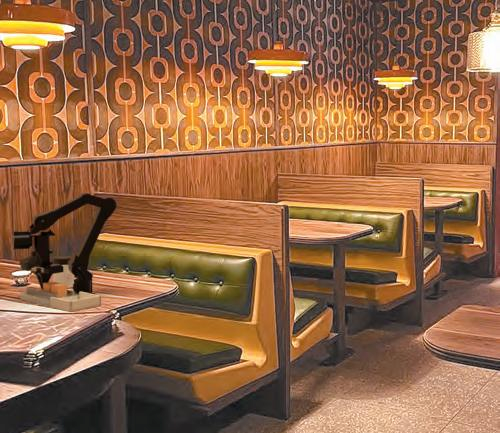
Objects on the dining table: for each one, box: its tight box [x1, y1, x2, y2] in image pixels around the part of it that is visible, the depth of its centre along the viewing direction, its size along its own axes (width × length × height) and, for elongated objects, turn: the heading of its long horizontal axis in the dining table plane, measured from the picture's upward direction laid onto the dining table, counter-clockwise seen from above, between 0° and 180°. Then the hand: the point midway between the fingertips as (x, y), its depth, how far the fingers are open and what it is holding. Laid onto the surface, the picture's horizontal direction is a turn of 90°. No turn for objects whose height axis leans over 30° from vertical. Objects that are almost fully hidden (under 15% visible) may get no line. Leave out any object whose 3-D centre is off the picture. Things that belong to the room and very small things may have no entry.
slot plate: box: [20, 287, 79, 308], centre depth 258 cm, size 13×19×4 cm
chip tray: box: [49, 292, 102, 313], centre depth 248 cm, size 13×12×4 cm
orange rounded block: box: [43, 281, 58, 292], centre depth 258 cm, size 4×4×4 cm
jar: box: [52, 255, 75, 289], centre depth 284 cm, size 9×8×12 cm
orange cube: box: [51, 283, 68, 297], centre depth 254 cm, size 4×4×4 cm
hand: (43, 289), depth 261 cm, fingers closed
